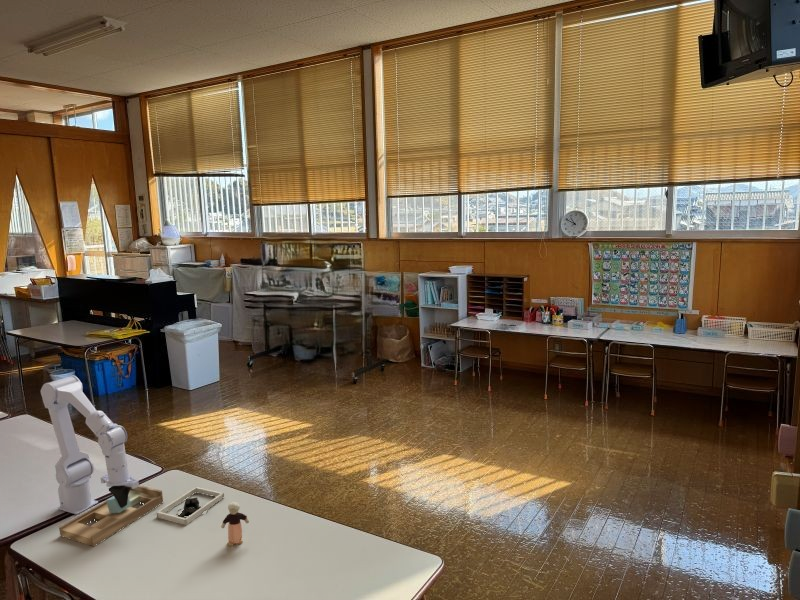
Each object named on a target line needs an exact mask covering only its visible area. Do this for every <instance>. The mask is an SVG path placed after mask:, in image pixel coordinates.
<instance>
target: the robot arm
mask: <svg viewBox="0 0 800 600" xmlns="http://www.w3.org/2000/svg"><path fill="white" fill-rule="evenodd" d="M83 388H84V387H83V383H82V382H81V380H80V379H79V378H78V377H77V376H76V375H72V374H71V375H69V376H66V377H64V378H63V377H62V378H60V379H57V380H53V381H50V382H45V383H44V384H42V386H41V389H40V395H41V397H42V398H41V400H42V403H43V405H44V408H45V409H48V414H49V417H50V421H51V424H52V427H53V431H54V434H55V438H56V441H57V444H58V448H59V451H60V452H59V453H60V454H61V457H60V458H59V459H58V461H57V462H56V463H55V465H54V468H55V480H56V481H57V483H58V484H59V485H58V489H57V492H58V493H57V494H58V500H59V506H58V507H57V510H60V511H63V512H67V513H71V514H74V515H80V514H81V513H82V512H84V511H86V510H87V509H91V507H93V506H94V505H96V504H99V501H98V500H94V499H93V498H92V492H91V485H90V479H91V478H92V476H91V475H92V474H93V473H94V471H95V466H94V463H93V461H92V459H91V458H90V454H89V453H88V452H84V451H80V447H79V444H78V441H77V440H78V439H77V437H76V433H75V430H74V429H75V428H74V426H73V422H72V419H71V416H70V411H69V408H68V406H69V404H70V405H72V406H73V407H74V409H76V410H77V411H78V412H79V413H80V414H81V415H83V417H84V418H85V425H86V426H87V427H88V428H89V429H90V431H91V432H93V434H94V435H95V436H96V437H97V443H98V446H99V448H100V449H101V453H102V455H103V456H104V458H105V465H106V472H107V474H105V475H103V476H100V483H101V484H105V483H106V487H108V492H109V493H111V494H112V497H113V496H114V497H115V499H116V500H117V502H118V504H119V506H120V507H121V508H123V507H124V506H126V505H127V501H128V495H129V491H130V488H131V487H132V489H135V488H137V487H138V486H139V485H140V482H139V480H138V479H135V477H134V478H133V477H132V476H131V475H130V474H129V472H130V471H129V466H128V461H127V453H126V449H125V448H126V447H125V443H126V442H127V440H128V433H127V431H126V428H125V427H124V426H122V425H120V424H119V425H118V423H114V422H113V421H112V419H110V418H109V416H107V414H106V413H104V411H103V410H97V409H96V408H95V406H94V405H93V404H92V402H91V401H90V399H89V398H88V397H87V396H86V394H85V393H84V392H83Z"/></svg>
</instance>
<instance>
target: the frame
mask: <svg viewBox="0 0 800 600" xmlns="http://www.w3.org/2000/svg"><path fill="white" fill-rule="evenodd" d="M195 492H199V493H204V494H208V495H213V496H217V497H213V498H212V499H211V500H210V501H208V502H207V503H205V505H202V506H203V507H201V506H200V507H201V508H200V509H198V510H197V511H196V512H194V513H193V514H191V515H190V516H188V517H185V518H182V517H178V516H176V515H173V514H170V513H168V512H170V511H171V510H172V509H171V508H173V507H174V506H176V505H177V504H179V503H180V502H182V501H183V500H184V499H186V498H187V497H189V496H191V495H192V494H193V493H195ZM199 493H198V494H199ZM195 494H196V493H195ZM204 494H203V495H204ZM208 495H207V496H208ZM192 496H193V495H192ZM192 496H191V497H192ZM223 497H224V498H225V494H224V493H223V492H219V491H215V490H212V489H207V488H202V487H198V486H195V487H193V488H192V489H190V490H188V491H187V492H185V493H184V494H183V495H181V496H180V497H178V498H176V499H175V500H173V501H172V502H170V503H169V504H166V505H165V506H163V507H162V508H160V509H159V510H158V511H156V512H155V513H156V518H157V517H158V518H157V519H161V520H165V521H170V522H173V523H176V524H179V525H184V526H187V525H188V524H190V523H191V522H193V521H195V520H196V519H197V518H199V517H200V516H201V515H200V514H202V513H203V512H204V511H206V510H207V509H208V510H210V509H211V508H212V507H214V506H215V505H216V504H215V503H216V502H218V501H219V500H221V499H222V498H223ZM189 498H190V497H189ZM222 500H223V499H222ZM222 500H221V501H222ZM183 502H184V501H183ZM183 502H182V503H183ZM219 502H220V501H219ZM219 502H218V503H219ZM180 504H181V503H180ZM180 504H179V505H180ZM214 504H215V505H214ZM213 505H214V506H213ZM177 506H178V505H177ZM177 506H176V507H177ZM211 506H212V507H211ZM210 507H211V508H210ZM174 508H175V507H174ZM174 508H173V509H174ZM209 508H210V509H209ZM170 509H171V510H170ZM169 510H170V511H169ZM167 511H168V512H167ZM199 515H200V516H199ZM195 518H196V519H195Z"/></svg>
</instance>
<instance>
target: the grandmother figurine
mask: <svg viewBox="0 0 800 600" xmlns="http://www.w3.org/2000/svg"><path fill="white" fill-rule="evenodd" d="M240 508H241V506H240V504H239V503H238V502H236V501H232V502H230V503H229V504H228V506H227V510H228V511H229V513H228V514H227V515H226V516H225V518H224V519H223V520H222V524H221V526H220V527H221V529H225V528H226V525H227V524H228V527H227V531H228V532H227V535H228V536H227V537H228V538H227V539H228V541H227V543H226V547H231V546H233V545H241V544H243V543H244V541H243V529H242V528H243V527H242V521H244V522H245V524H249V523H250V520H249V519H248V515H247V514H244V513H242V512H239V510H240ZM241 520H242V521H241Z"/></svg>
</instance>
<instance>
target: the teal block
mask: <svg viewBox="0 0 800 600" xmlns="http://www.w3.org/2000/svg"><path fill="white" fill-rule="evenodd" d="M105 501H106V503H107V506H108V509H109V512H110V514H112V513H120V512H121V511H123V510H125V509H127V508H128V507H130V506H131V503H130V500H129V497H128V501H127V505H126V506H124V507H123V508H121V507H120V506H119V504H118V502H117V500H116V499H115V497H114V496H113V495H112V496H111V497H109V498H107V499H106V500H105Z"/></svg>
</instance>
